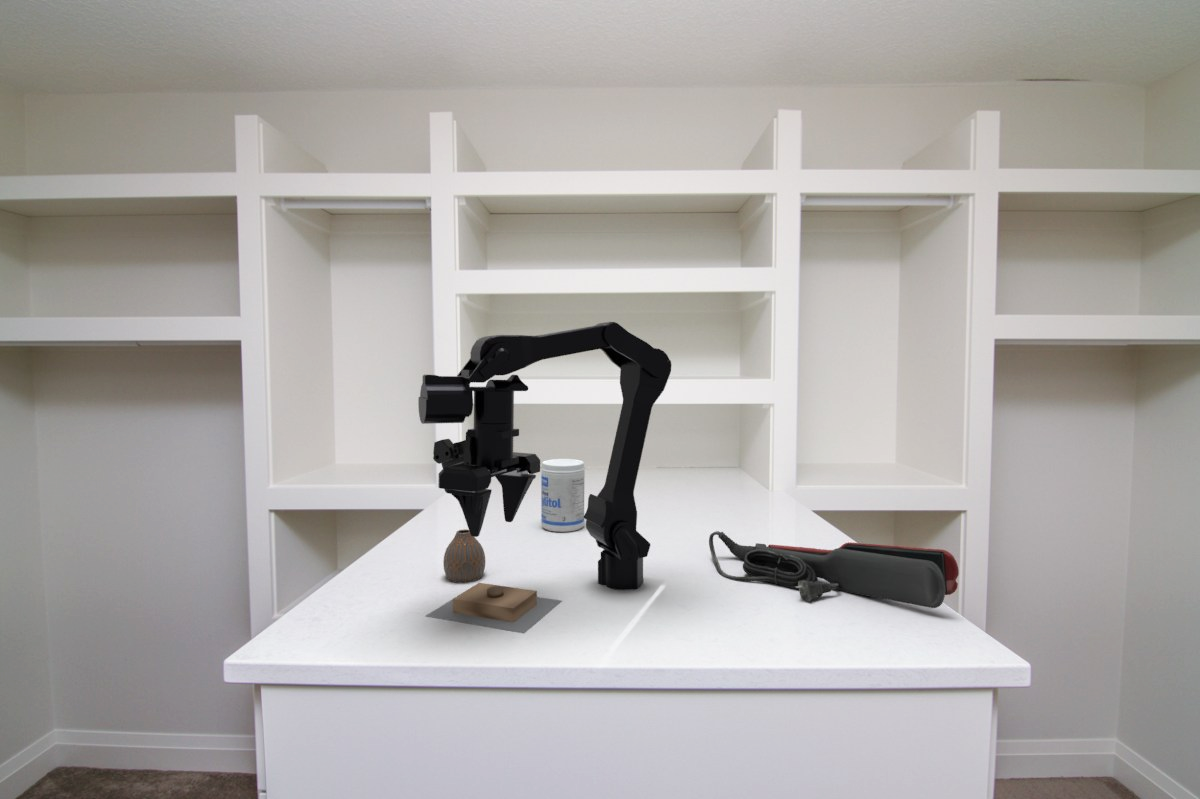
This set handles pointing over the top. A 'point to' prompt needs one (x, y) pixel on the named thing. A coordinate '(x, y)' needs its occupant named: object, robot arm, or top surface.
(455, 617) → the mat
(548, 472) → the supplement tub
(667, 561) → the top surface
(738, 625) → the top surface
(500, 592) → the lid
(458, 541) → the vase
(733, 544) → the hair straightener
